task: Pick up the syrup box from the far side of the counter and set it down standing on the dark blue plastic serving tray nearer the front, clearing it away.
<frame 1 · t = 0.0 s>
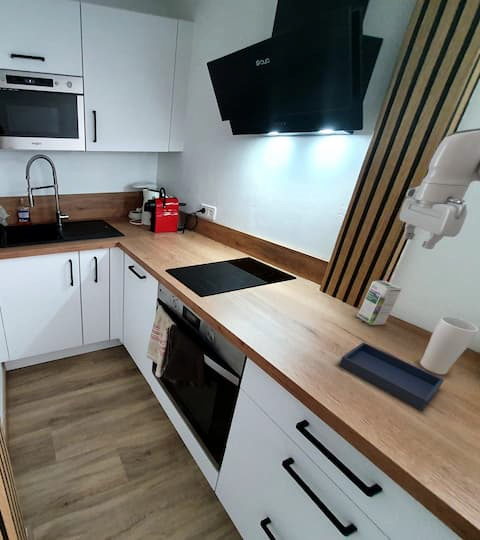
hand: (416, 243, 83), 31 cm above the worktop, tool pointing down, fingers open, 8 cm apart
syrup box: (370, 320, 102), on the worktop
tray: (386, 376, 76), on the worktop
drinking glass: (432, 369, 80), on the worktop
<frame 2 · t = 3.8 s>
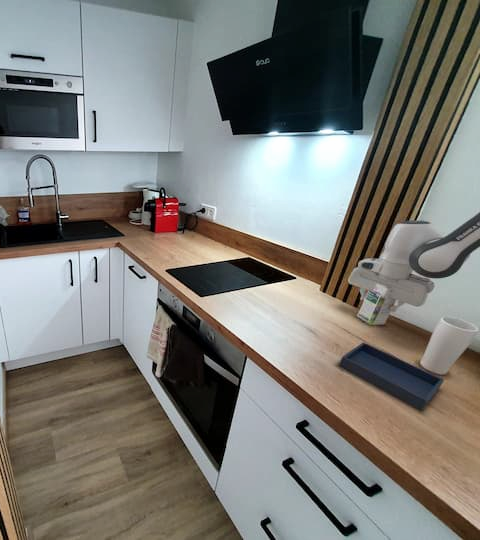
hand: (377, 305, 99), 6 cm above the worktop, tool pointing down, fingers closed on syrup box, 7 cm apart
syrup box: (370, 320, 102), on the worktop, touching gripper
everything else where it was.
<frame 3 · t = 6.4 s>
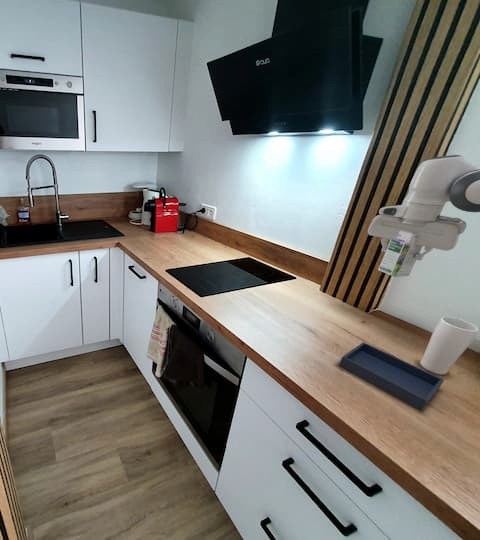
hand: (400, 255, 92), 25 cm above the worktop, tool pointing down, fingers closed on syrup box, 7 cm apart
syrup box: (392, 273, 94), point 18 cm above the worktop, touching gripper
everything else where it was.
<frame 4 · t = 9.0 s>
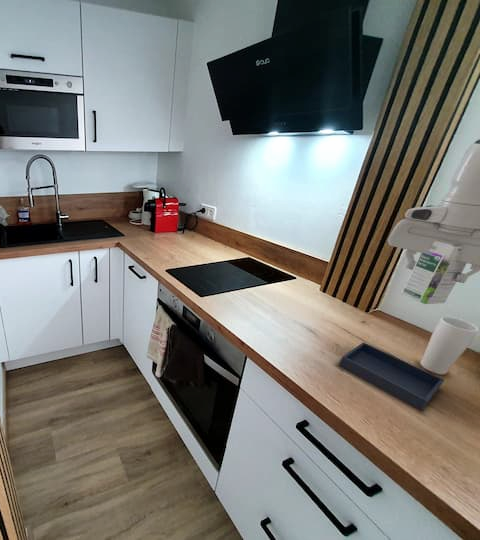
hand: (433, 274, 67), 29 cm above the worktop, tool pointing down, fingers closed on syrup box, 7 cm apart
syrup box: (421, 298, 69), point 22 cm above the worktop, touching gripper
everything else where it was.
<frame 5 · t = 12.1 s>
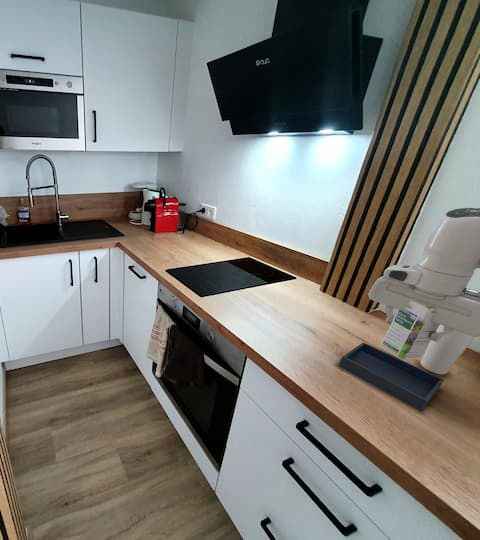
hand: (410, 330, 70), 15 cm above the worktop, tool pointing down, fingers closed on syrup box, 7 cm apart
syrup box: (399, 351, 73), point 8 cm above the worktop, touching gripper
everything else where it was.
when the fingers open (7 cm above the worktop, at t = 14.5 s): syrup box stays where it is, resting on tray.
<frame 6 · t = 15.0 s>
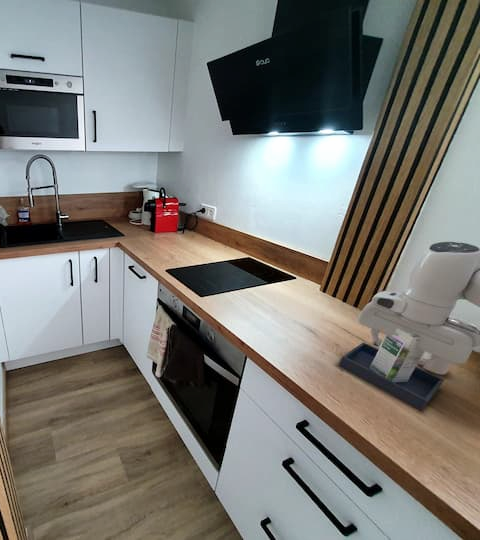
hand: (397, 355, 73), 7 cm above the worktop, tool pointing down, fingers open, 8 cm apart
syrup box: (387, 375, 76), resting on tray
everything else where it was.
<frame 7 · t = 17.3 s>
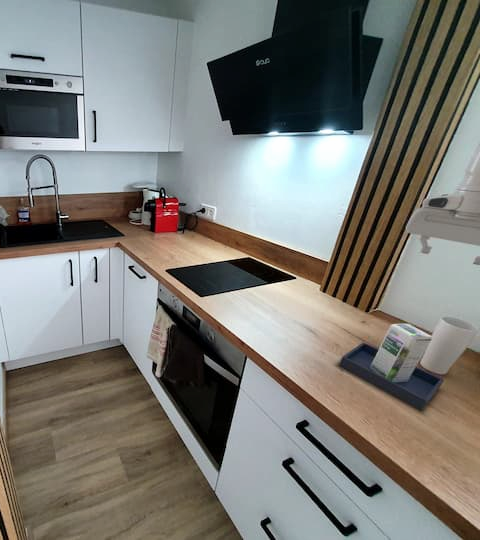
hand: (449, 258, 72), 31 cm above the worktop, tool pointing down, fingers open, 8 cm apart
nothing on the worktop moved.
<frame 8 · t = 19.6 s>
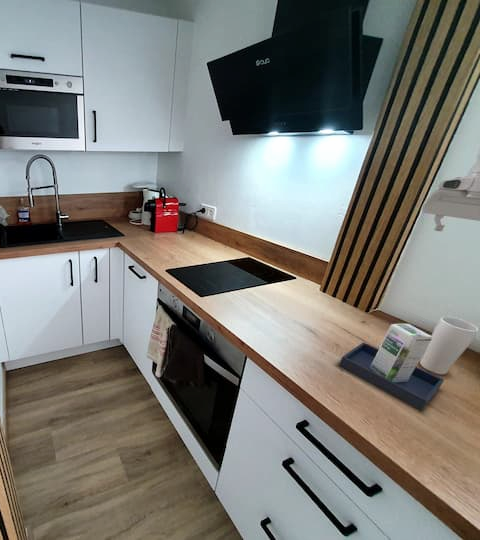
hand: (460, 234, 81), 34 cm above the worktop, tool pointing down, fingers open, 8 cm apart
nothing on the worktop moved.
at the end: syrup box inside the target area in the tray (0.1 cm from its centre), point 0.4 cm above the tray's base; syrup box tilted 0°; the gripper is holding nothing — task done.
